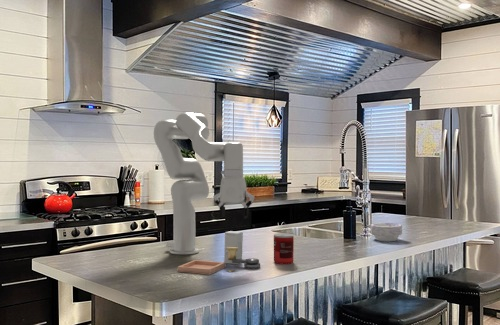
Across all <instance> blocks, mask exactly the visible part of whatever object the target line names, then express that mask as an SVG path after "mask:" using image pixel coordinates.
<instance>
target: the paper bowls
mask: <svg viewBox="0 0 500 325" xmlns="http://www.w3.org/2000/svg"><path fill="white" fill-rule="evenodd" d="M370 235H373V236H374V239H375V240H376V241H379V242H396V241H397V240H398V239H399V237H400V236H402V235H403V225H402V224H400V223H393V222H377V223H372V224H370Z"/></svg>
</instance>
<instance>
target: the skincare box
mask: <svg viewBox="0 0 500 325" xmlns="http://www.w3.org/2000/svg"><path fill="white" fill-rule="evenodd" d="M243 233H244V232H242V231H233V230H230V231H225V232H224V255H223V256H224V258H223V259H224V261H223V262H225V264H231V265H239V264H240V263H232V260H228V250H227V247H238V250H236V259H243V238H244V237H243V236H244V234H243Z"/></svg>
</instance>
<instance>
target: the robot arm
mask: <svg viewBox="0 0 500 325" xmlns="http://www.w3.org/2000/svg"><path fill="white" fill-rule="evenodd" d="M207 118H208V117H206V115H205V114H202V113H197V112H195V113H194V112H182V113H180V114H178V115H177V116H176V118H175V119H162V120H159V121H158V122H156V124H155V125H154V129H153V139H154V142H155V145H156V146H157V149H158V150H159V152H160V154H161V156H162V160H163V163H164V166H165V169H166V172H167V175H168V177H169V178H170V179H172V180H176V181H175V182H173V183H172V185H171V188H170V194H171V201H172V209H173V210H172V211H173V214H172V215H173V225H172V226H173V241H167V242H166V244H165V245H166V247H168V248H169V247H170V248H171V249H170V250H169V253H170V254H172V255H182V256H183V255H187V256H188V255H194V254H198V253H199V252H200V249H199V248H197V247H196V209H195V207H194V205H193V203H192V202H199V201H205V200H206V199H207V198H208V196H209V195H210V188H209V187H210V186H209V182H208V181H207V178H206V175H205V172H204V170H203V167H202V165H201V163H200V162H199V161H198V160H197V159H195V158H190V157H189V158H186V157H184V156H183V154H182V151H181V148H179V146H178V145H177V144H176V142H174V140H188V139H189V140H191V145H192V146H191V147H192V150H193V151H194V153H195V154H197V156H199V157H200V158H201V159H202V160H204V161H206V162H223V170H221V171H220V174H221V175H223V177H221V180H220V185H219V192H218V193H216V194H215V195H213V199H214V202H215V204H216V205H217V206H218V208H219V215H220V216H219V217H220V218H224V217H226V206H225V205H226V204H241V205H242V207H243V208H242V219H247V218H248V217H249V208H250V207H251V205H252V204H253V202H254V200H255V198H256V197H255V195H252V194H251V193H249V192H248V189H247V182H246V178H245V176H244V145H243V143H241V142H231V141H230V142H217V141H216V142H215V141H208V138H209V136H210V129H209V128H208V127H209V121H208V119H207ZM172 139H173V140H172ZM248 198H249V200H248ZM247 200H248V201H247Z"/></svg>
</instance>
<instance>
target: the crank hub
mask: <svg viewBox="0 0 500 325" xmlns="http://www.w3.org/2000/svg"><path fill="white" fill-rule="evenodd" d="M243 264H244V265H243V266H244V269H246V270H257V269H261V263H260V262H259V263H258V264H246V263H243Z"/></svg>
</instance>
